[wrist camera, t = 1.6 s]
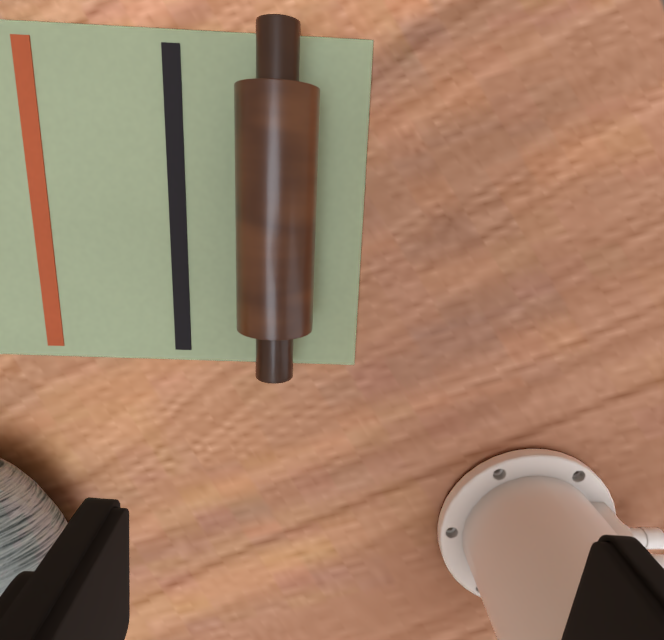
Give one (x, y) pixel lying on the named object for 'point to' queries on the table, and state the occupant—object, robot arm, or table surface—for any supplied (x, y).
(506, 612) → the robot arm
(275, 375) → the rolling pin
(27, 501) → the grey streaked stone
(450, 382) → the table surface
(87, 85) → the baking mat
